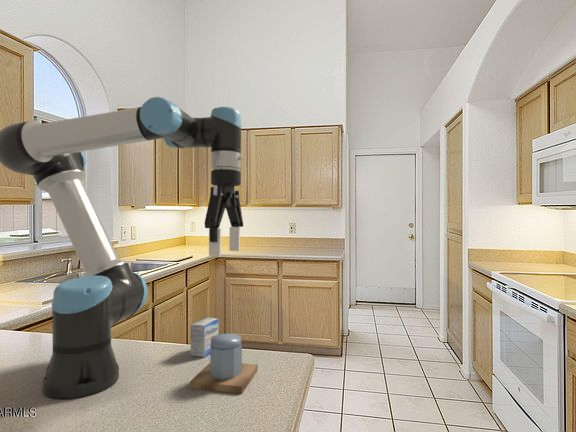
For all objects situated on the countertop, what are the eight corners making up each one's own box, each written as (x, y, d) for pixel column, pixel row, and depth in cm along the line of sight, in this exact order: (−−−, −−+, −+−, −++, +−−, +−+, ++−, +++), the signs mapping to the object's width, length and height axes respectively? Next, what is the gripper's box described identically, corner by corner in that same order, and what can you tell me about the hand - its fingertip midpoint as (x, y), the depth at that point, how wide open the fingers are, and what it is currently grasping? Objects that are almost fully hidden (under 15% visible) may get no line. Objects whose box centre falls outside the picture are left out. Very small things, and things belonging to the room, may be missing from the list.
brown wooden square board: (190, 388, 81) (190, 361, 81) (212, 366, 93) (212, 343, 93) (241, 393, 79) (242, 366, 79) (257, 370, 91) (257, 346, 91)
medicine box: (204, 358, 99) (204, 325, 99) (190, 356, 100) (190, 324, 100) (219, 348, 106) (219, 318, 106) (205, 346, 108) (205, 316, 108)
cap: (242, 377, 84) (243, 341, 84) (211, 380, 82) (211, 344, 82) (238, 365, 90) (238, 332, 90) (209, 368, 88) (209, 334, 88)
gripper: (221, 162, 81) (220, 259, 81) (254, 175, 105) (253, 249, 105) (189, 163, 82) (189, 258, 82) (229, 175, 107) (229, 248, 106)
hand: (225, 253), depth 93 cm, fingers open, 13 cm apart
